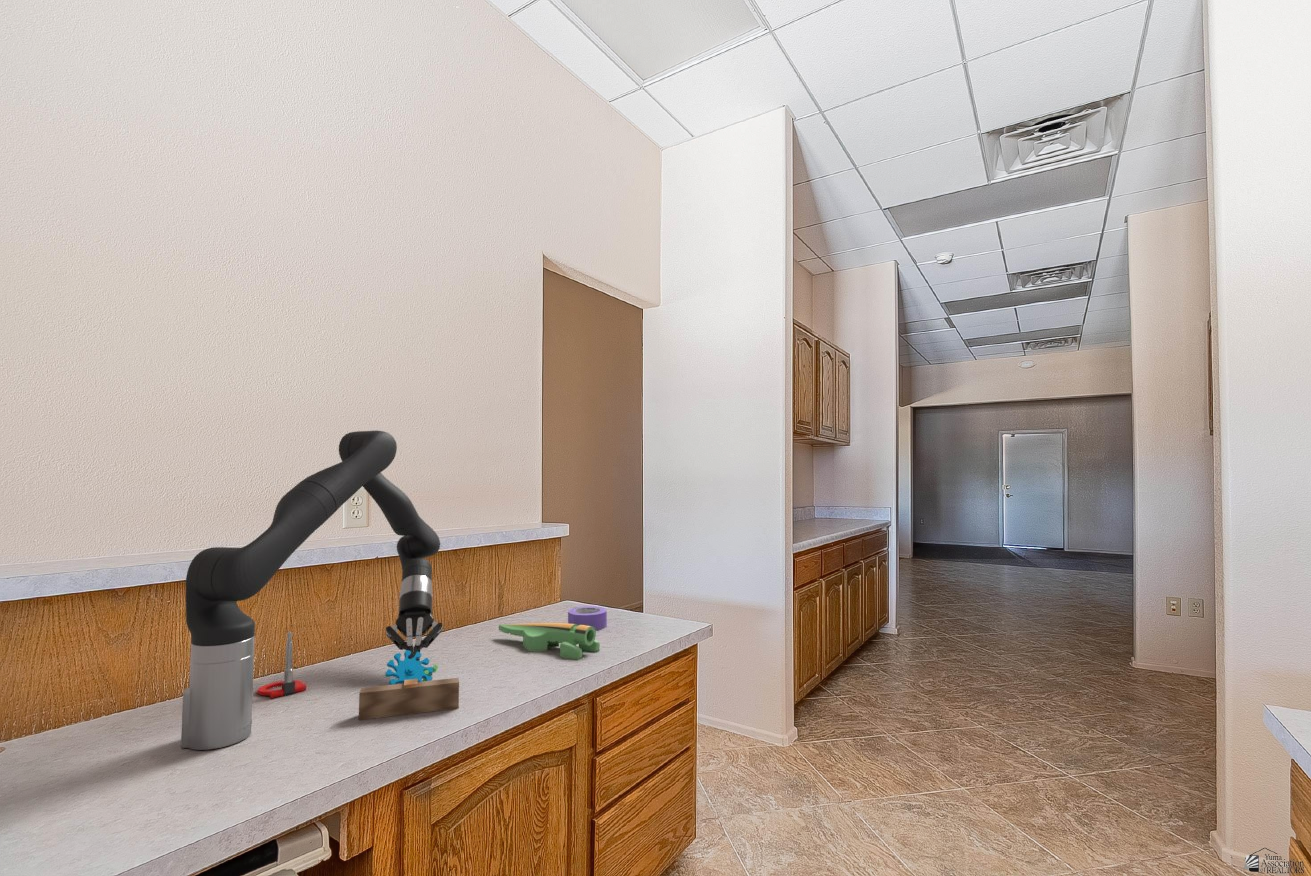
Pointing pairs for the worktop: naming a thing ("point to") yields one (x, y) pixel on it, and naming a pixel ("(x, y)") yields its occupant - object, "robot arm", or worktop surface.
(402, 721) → the worktop surface
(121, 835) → the worktop surface
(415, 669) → the gear
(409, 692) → the rail
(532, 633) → the green elongated piece
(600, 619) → the tape roll
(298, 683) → the tow hook
